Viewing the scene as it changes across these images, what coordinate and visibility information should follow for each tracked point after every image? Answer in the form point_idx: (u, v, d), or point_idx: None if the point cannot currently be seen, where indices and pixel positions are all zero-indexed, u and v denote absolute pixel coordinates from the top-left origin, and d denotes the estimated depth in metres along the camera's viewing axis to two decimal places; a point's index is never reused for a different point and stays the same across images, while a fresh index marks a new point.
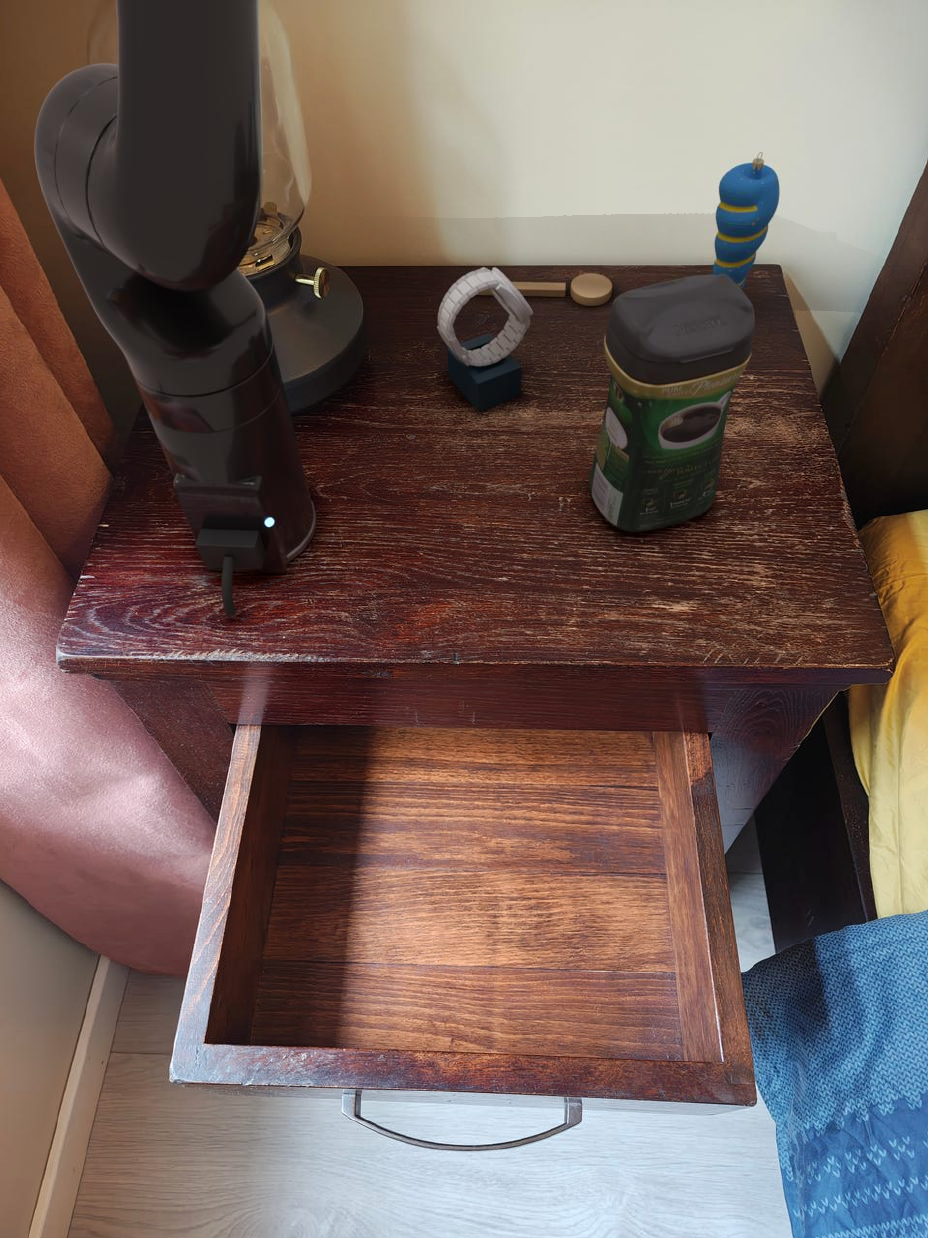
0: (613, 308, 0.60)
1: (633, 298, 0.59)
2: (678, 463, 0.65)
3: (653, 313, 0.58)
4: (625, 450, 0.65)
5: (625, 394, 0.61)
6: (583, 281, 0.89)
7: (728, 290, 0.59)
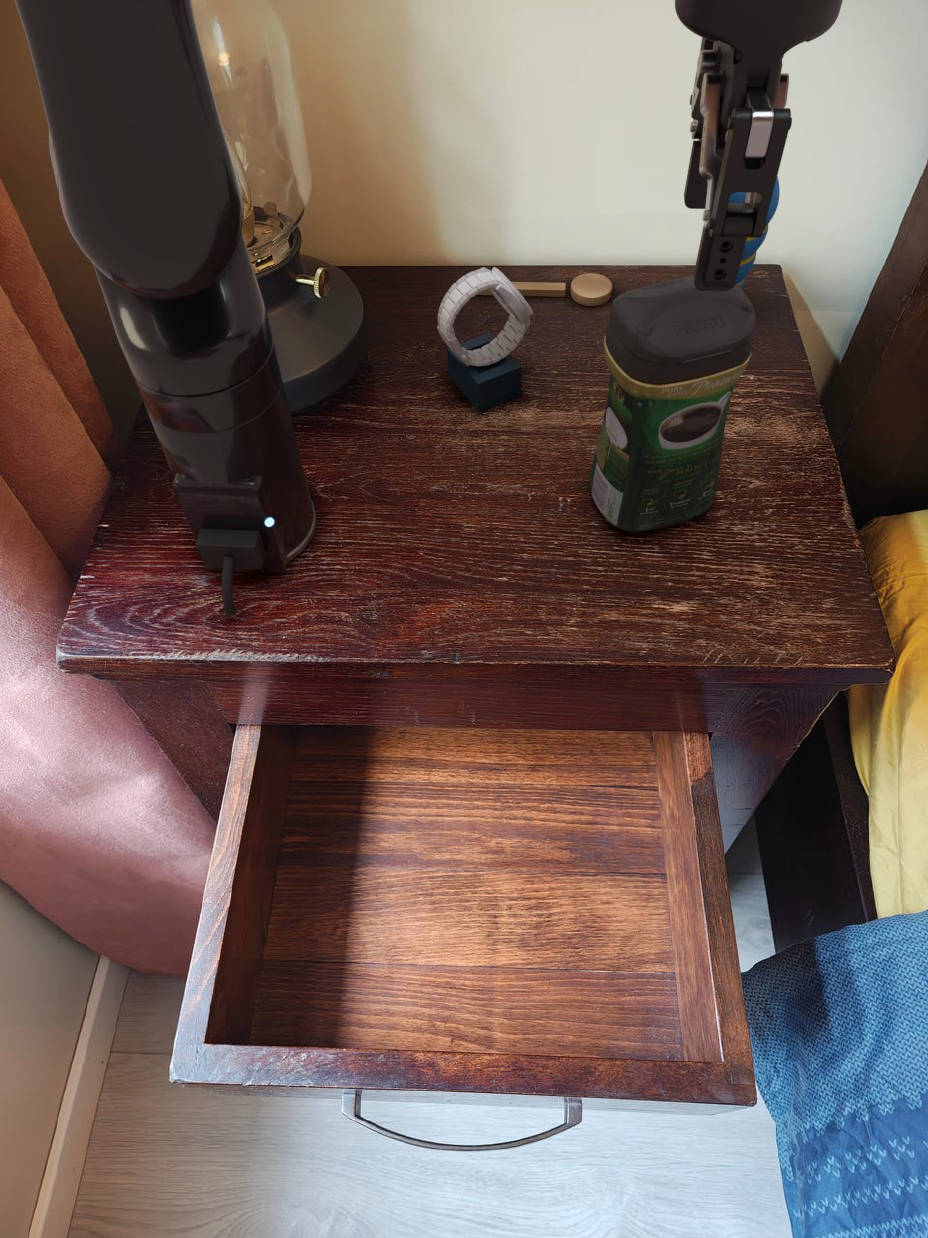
0: (613, 308, 0.60)
1: (633, 298, 0.59)
2: (678, 463, 0.65)
3: (653, 313, 0.58)
4: (625, 450, 0.65)
5: (625, 394, 0.61)
6: (583, 281, 0.89)
7: (728, 290, 0.59)
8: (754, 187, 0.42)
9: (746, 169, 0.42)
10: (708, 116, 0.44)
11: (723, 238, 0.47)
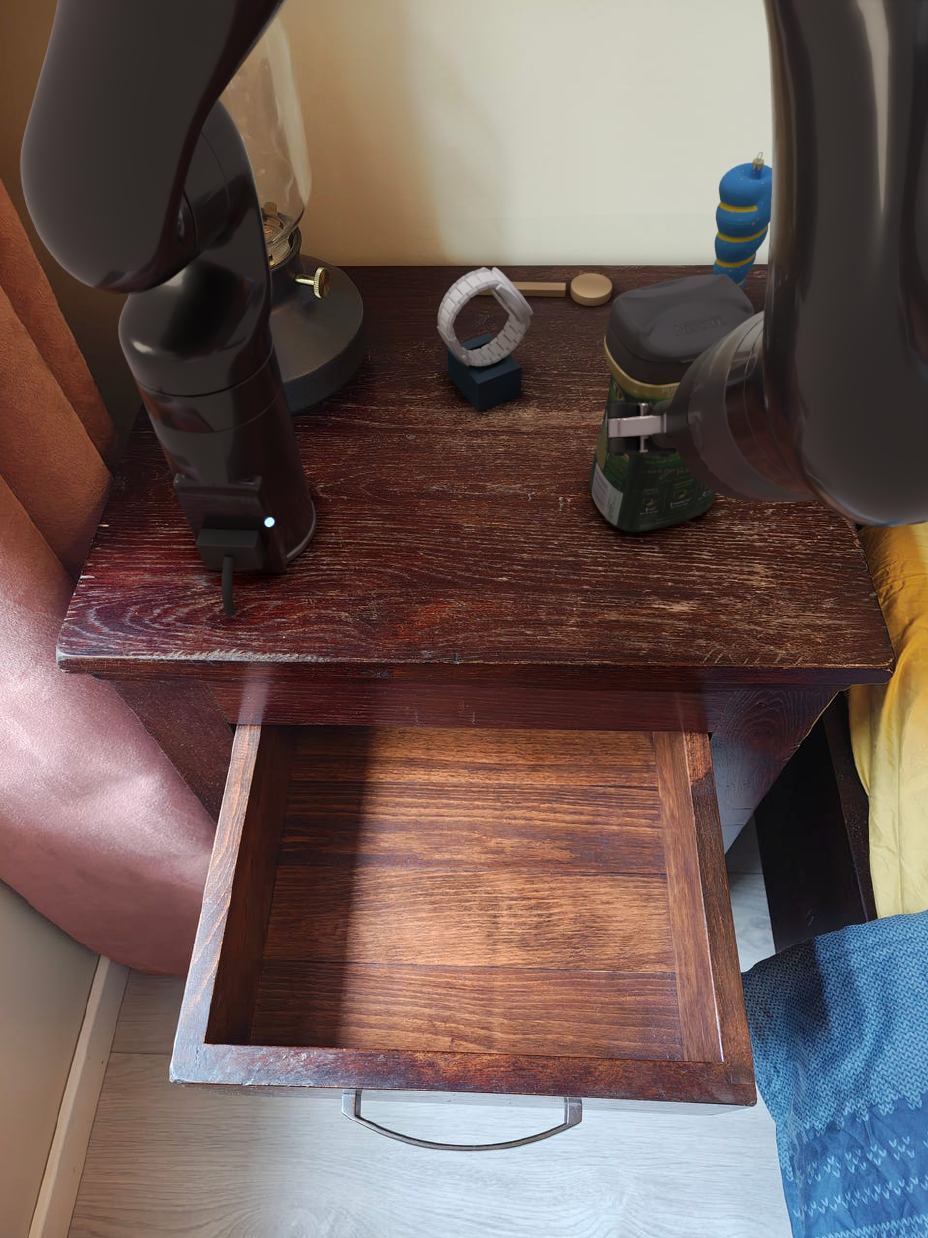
0: (613, 308, 0.60)
1: (633, 298, 0.59)
2: (678, 463, 0.65)
3: (653, 313, 0.58)
4: None
5: (625, 394, 0.61)
6: (583, 281, 0.89)
7: (728, 290, 0.59)
8: None
9: None
10: None
11: None
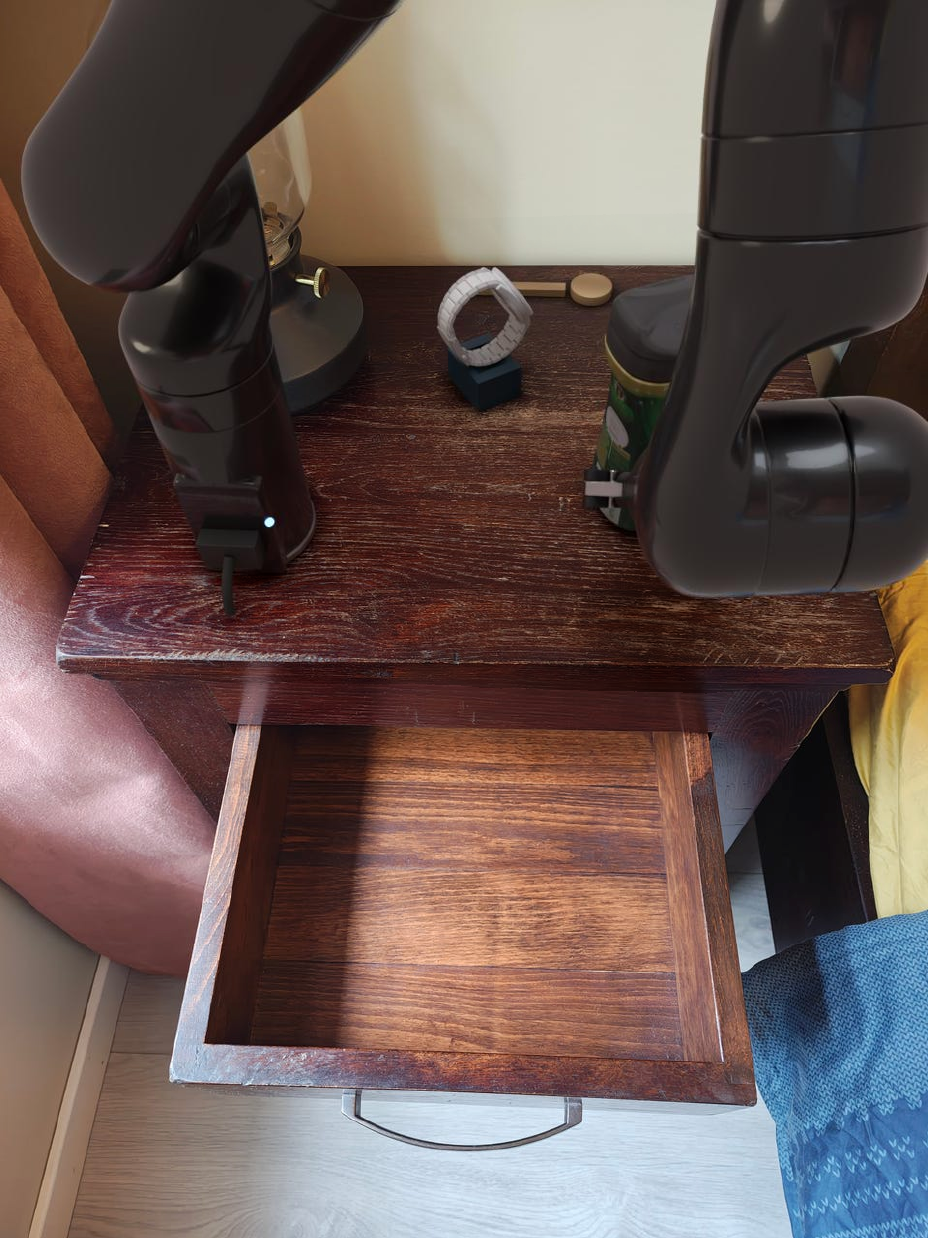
0: (614, 307, 0.60)
1: (634, 297, 0.59)
2: None
3: (654, 311, 0.58)
4: (626, 449, 0.65)
5: (627, 393, 0.61)
6: (583, 281, 0.89)
7: None
8: None
9: None
10: None
11: None
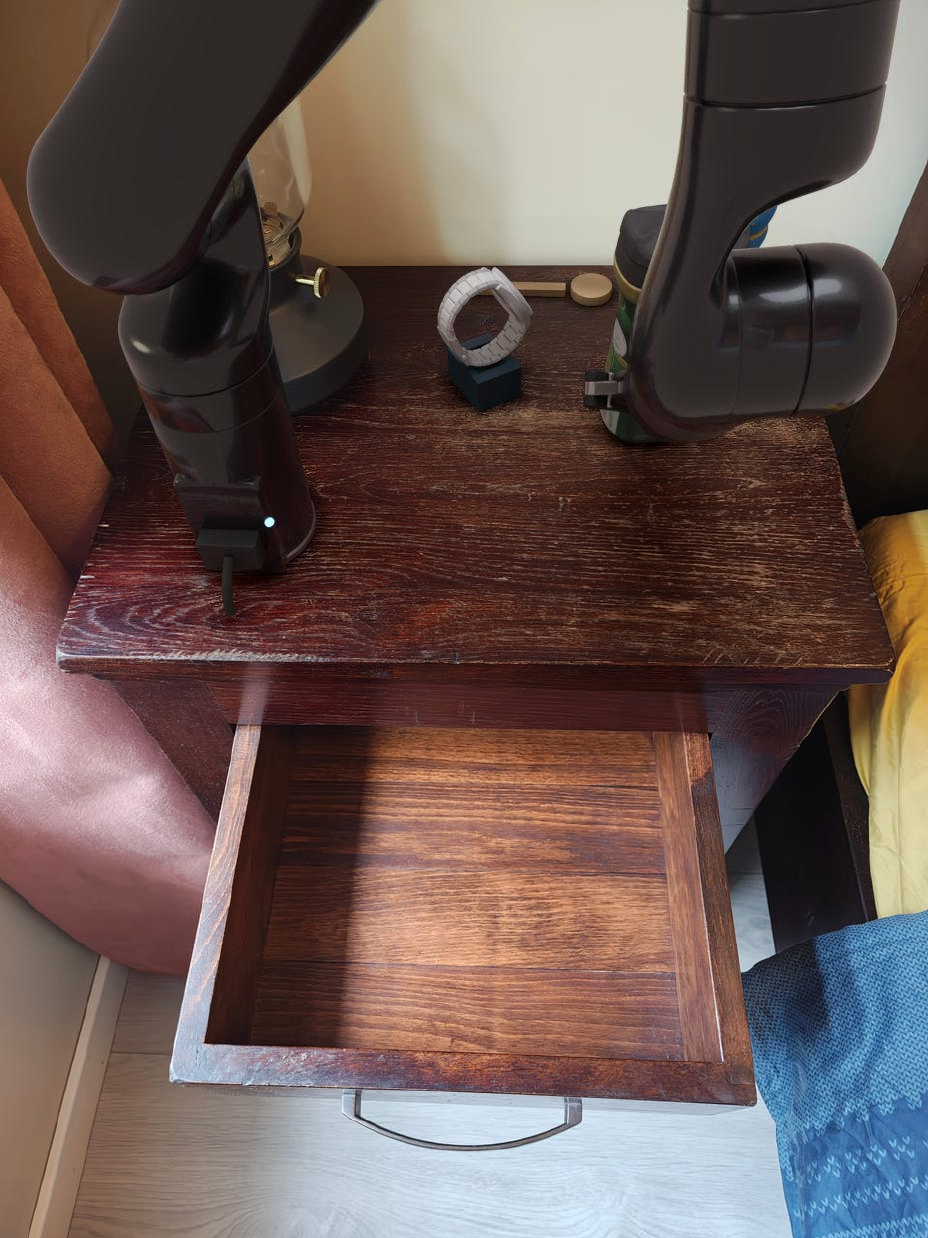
0: (623, 219, 0.66)
1: (640, 210, 0.65)
2: None
3: (654, 224, 0.64)
4: (624, 358, 0.71)
5: (626, 300, 0.67)
6: (583, 281, 0.89)
7: None
8: None
9: None
10: None
11: None
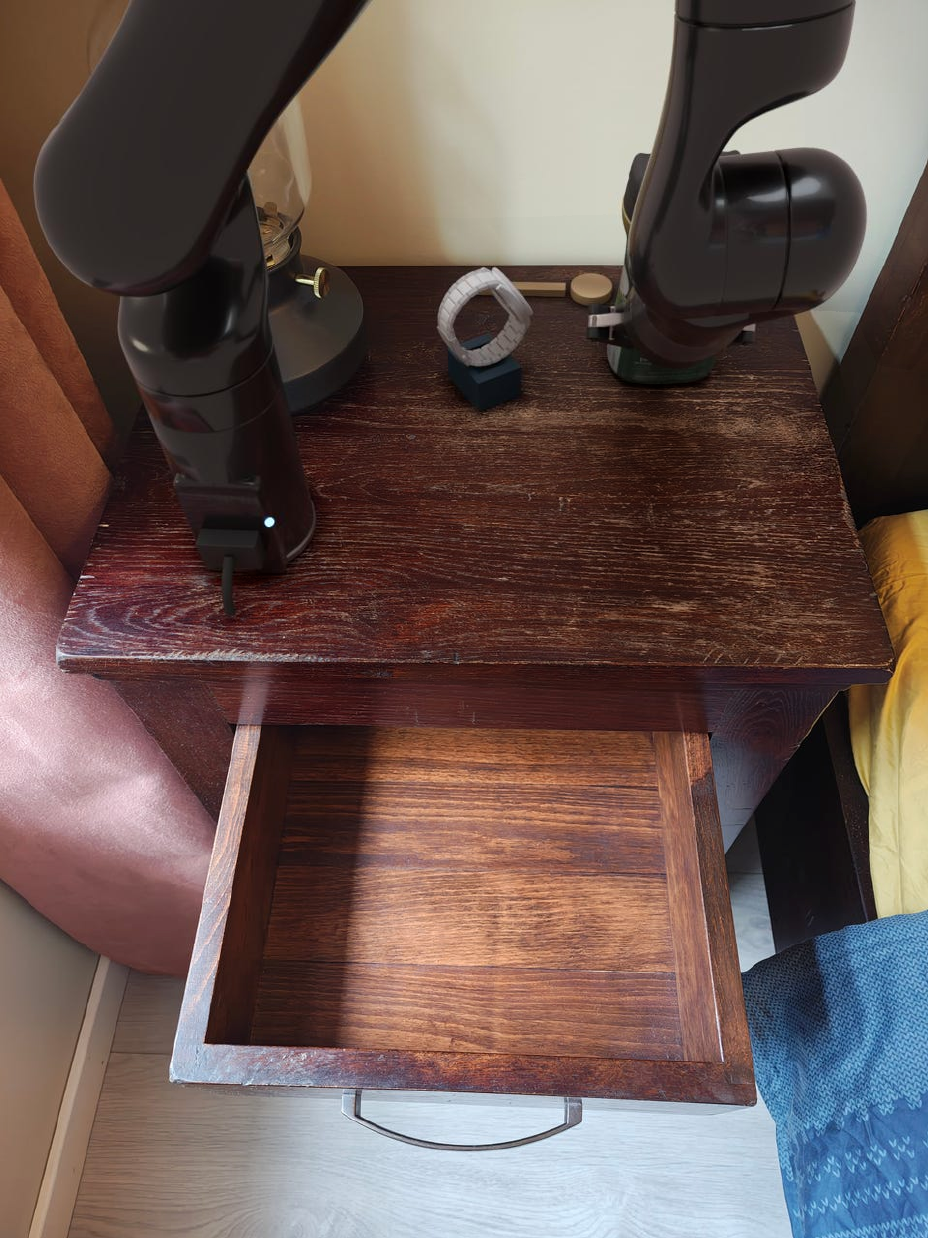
0: None
1: (648, 154, 0.69)
2: None
3: None
4: (626, 297, 0.76)
5: None
6: (583, 281, 0.89)
7: None
8: None
9: None
10: None
11: None
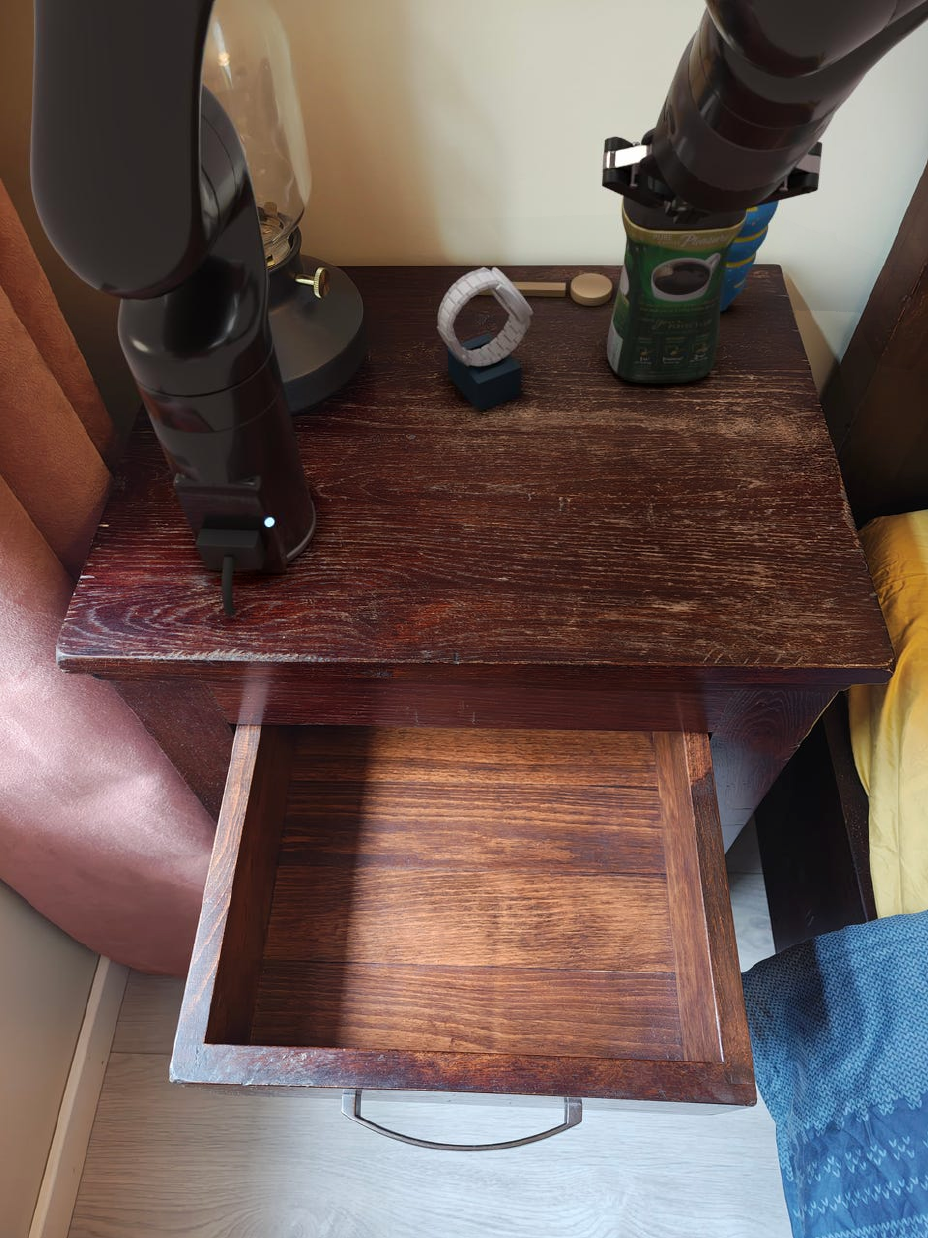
0: None
1: None
2: (669, 316, 0.75)
3: None
4: (626, 296, 0.76)
5: (629, 239, 0.72)
6: (583, 281, 0.89)
7: None
8: None
9: None
10: None
11: None
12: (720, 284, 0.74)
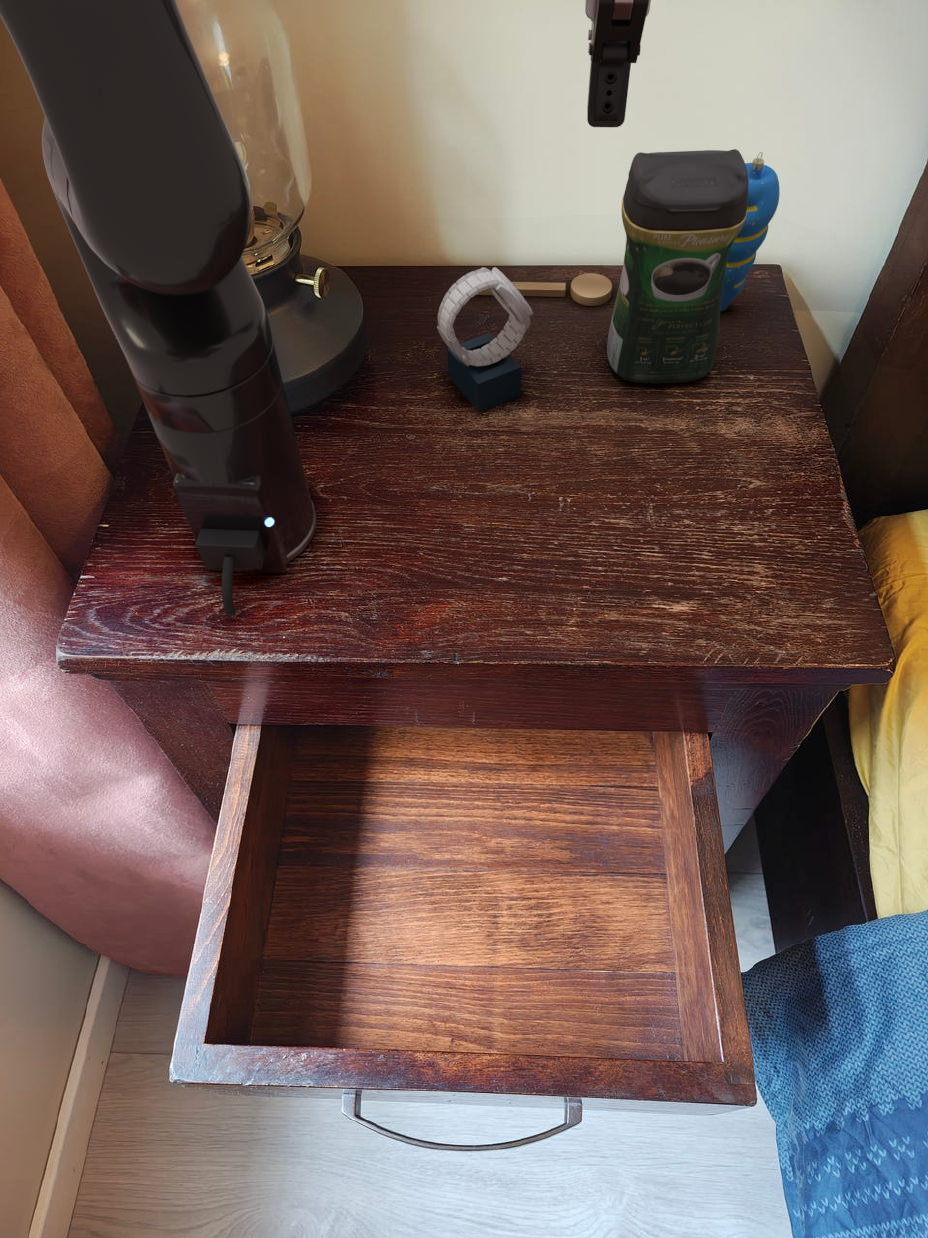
0: (632, 161, 0.70)
1: (648, 154, 0.69)
2: (669, 316, 0.75)
3: (658, 166, 0.68)
4: (626, 296, 0.76)
5: (629, 239, 0.72)
6: (583, 281, 0.89)
7: (730, 160, 0.68)
8: (623, 37, 0.47)
9: (614, 27, 0.46)
10: None
11: (607, 69, 0.51)
12: (720, 284, 0.74)
